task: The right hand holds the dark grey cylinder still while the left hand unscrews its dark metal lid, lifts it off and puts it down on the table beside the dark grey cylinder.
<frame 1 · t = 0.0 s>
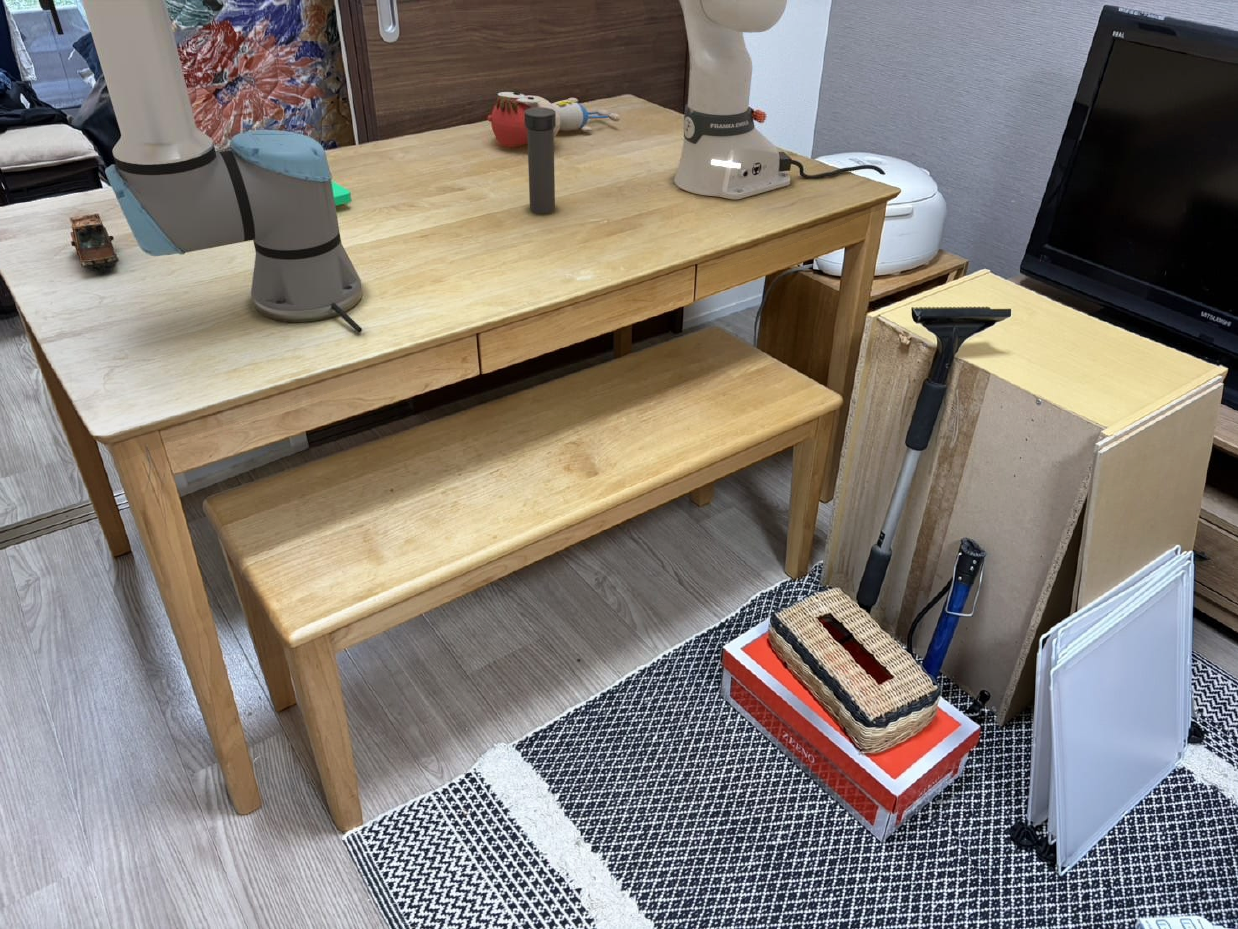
left hand: (108, 29, 146), 28 cm above the table, tool pointing down, fingers open, 13 cm apart
toy: (554, 136, 197), on the table
camera mount: (318, 203, 164), on the table
lid: (540, 113, 154), point 17 cm above the table, screwed on, not yet turned
dark grey cylinder: (542, 209, 164), on the table
toy car: (99, 261, 143), on the table
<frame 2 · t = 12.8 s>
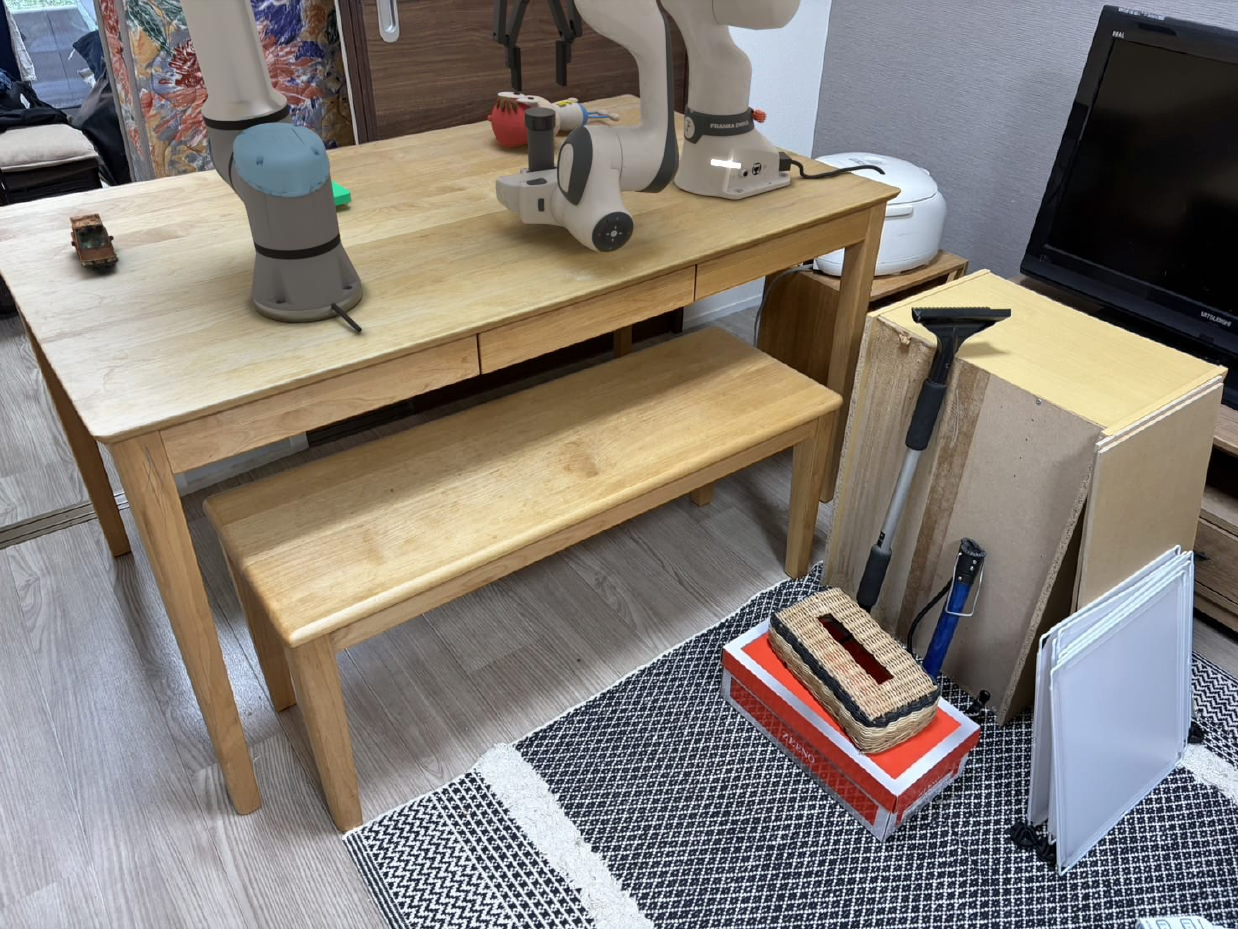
left hand: (539, 86, 152), 21 cm above the table, tool pointing down, fingers open, 7 cm apart
right hand: (539, 170, 161), 7 cm above the table, tool horizontal, fingers closed on dark grey cylinder, 4 cm apart
dark grey cylinder: (542, 209, 164), on the table, touching right hand
everything else where it was.
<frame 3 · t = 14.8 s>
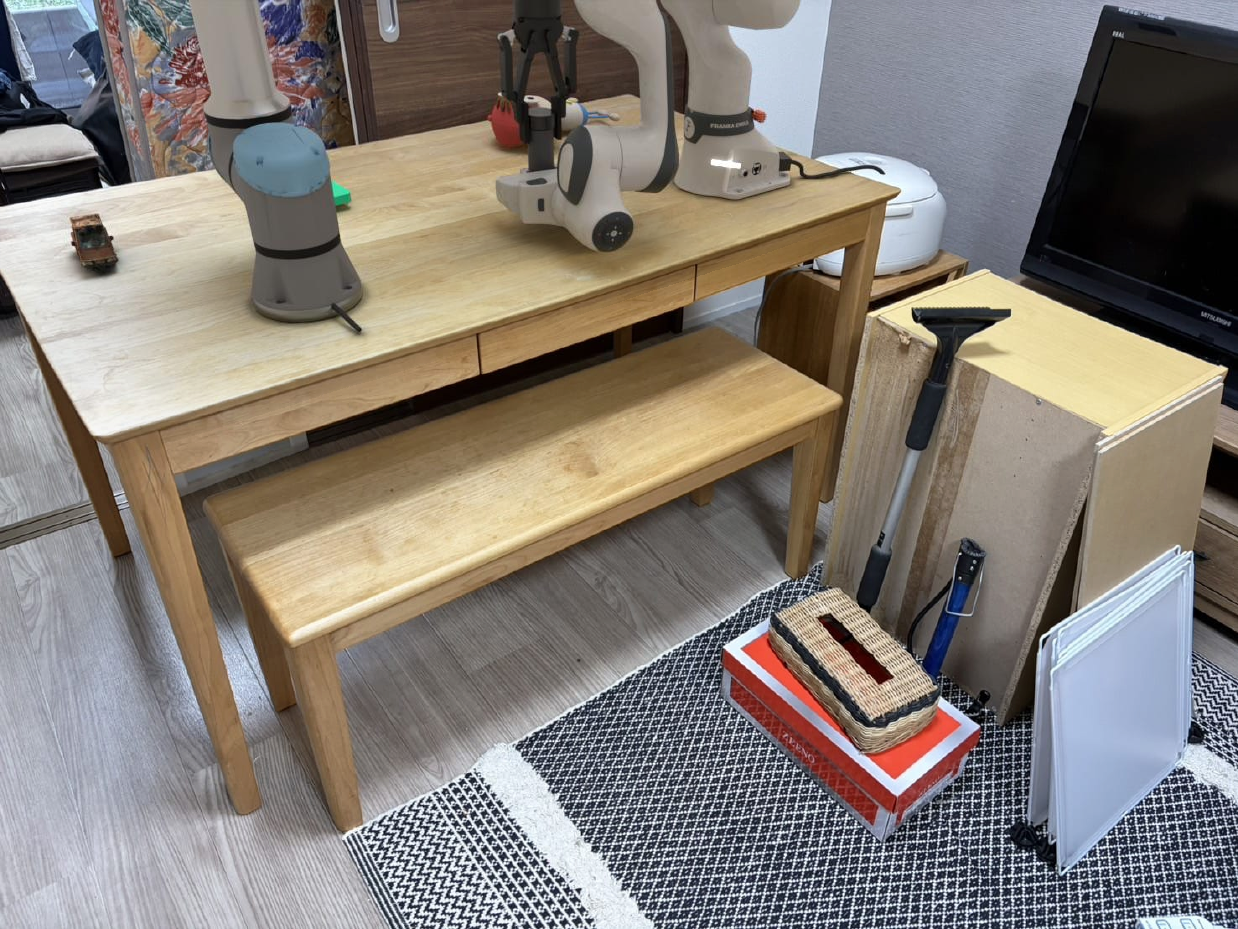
left hand: (540, 139, 157), 12 cm above the table, tool pointing down, fingers closed on lid, 5 cm apart
right hand: (539, 170, 161), 7 cm above the table, tool horizontal, fingers closed on dark grey cylinder, 4 cm apart
lid: (540, 113, 154), point 17 cm above the table, screwed on, not yet turned, touching left hand
dark grey cylinder: (542, 209, 164), on the table, touching right hand
everything else where it was.
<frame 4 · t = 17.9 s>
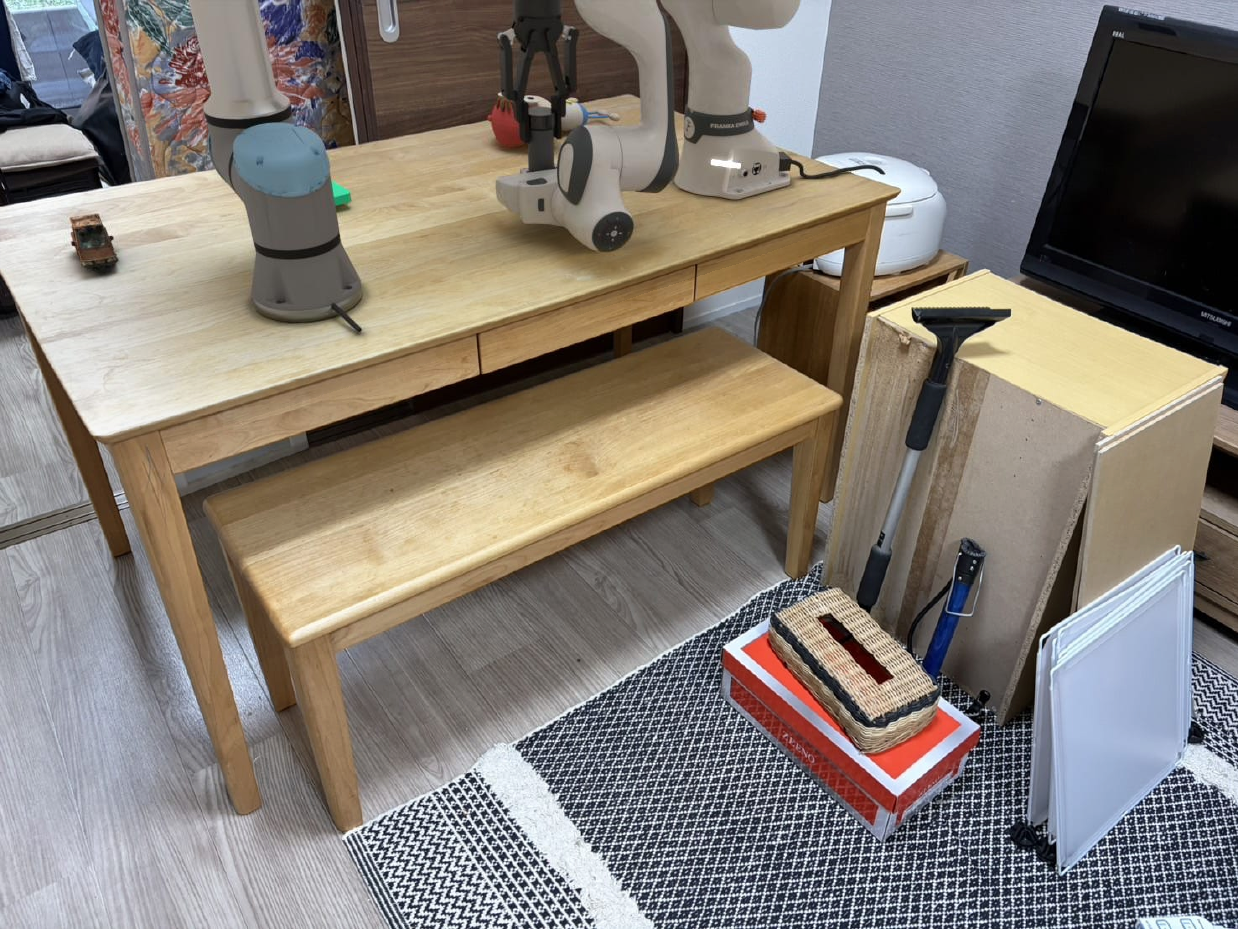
left hand: (540, 138, 157), 12 cm above the table, tool pointing down, fingers closed on lid, 5 cm apart
right hand: (539, 170, 161), 7 cm above the table, tool horizontal, fingers closed on dark grey cylinder, 4 cm apart
lid: (540, 113, 154), point 17 cm above the table, turned 94° so far, risen 0.1 cm, still on its thread, touching left hand
dark grey cylinder: (542, 209, 164), on the table, touching right hand
everything else where it was.
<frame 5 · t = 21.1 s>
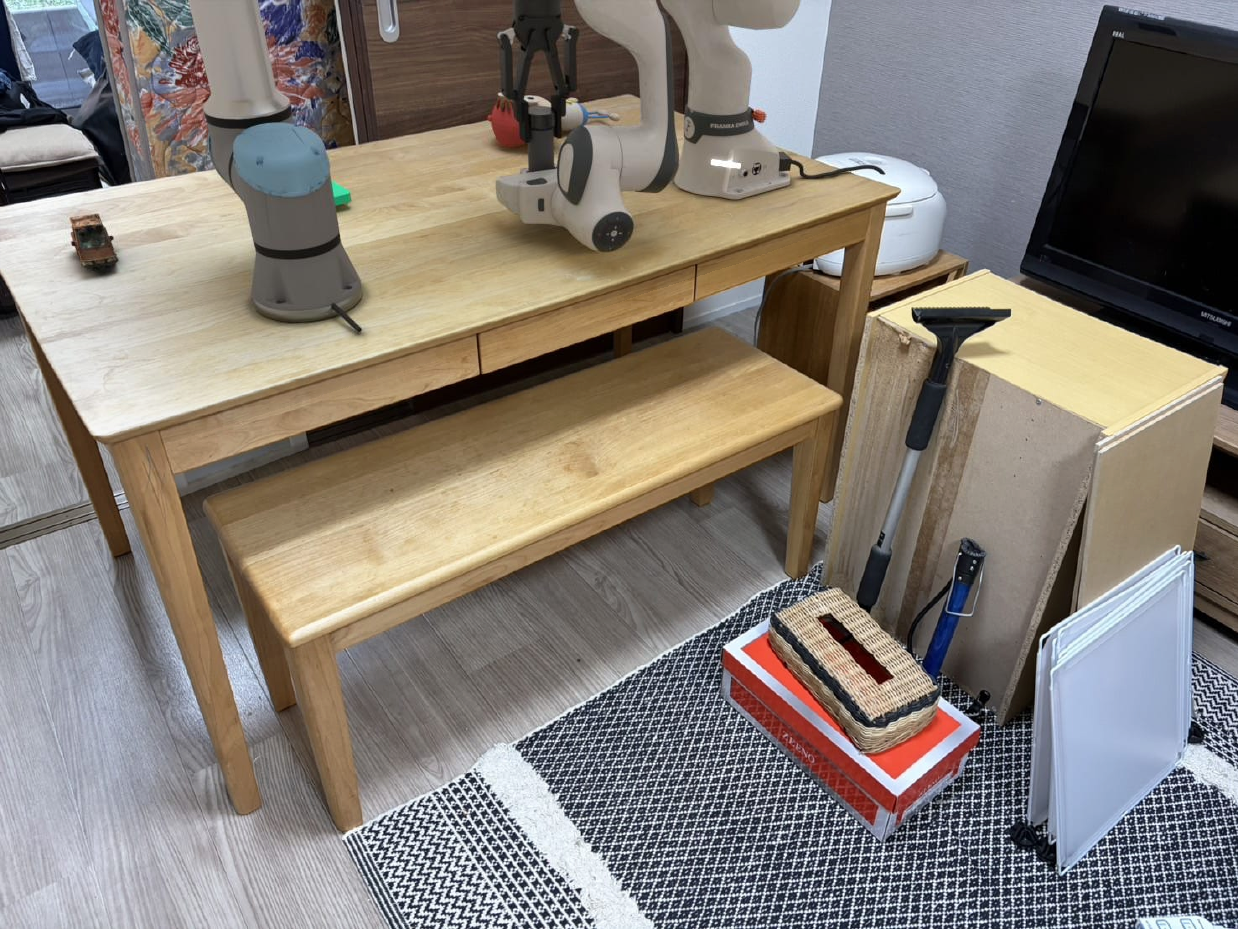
left hand: (540, 138, 157), 13 cm above the table, tool pointing down, fingers closed on lid, 5 cm apart
right hand: (539, 170, 161), 7 cm above the table, tool horizontal, fingers closed on dark grey cylinder, 4 cm apart
lid: (540, 112, 154), point 17 cm above the table, turned 189° so far, risen 0.2 cm, still on its thread, touching left hand
dark grey cylinder: (542, 209, 164), on the table, touching right hand
everything else where it was.
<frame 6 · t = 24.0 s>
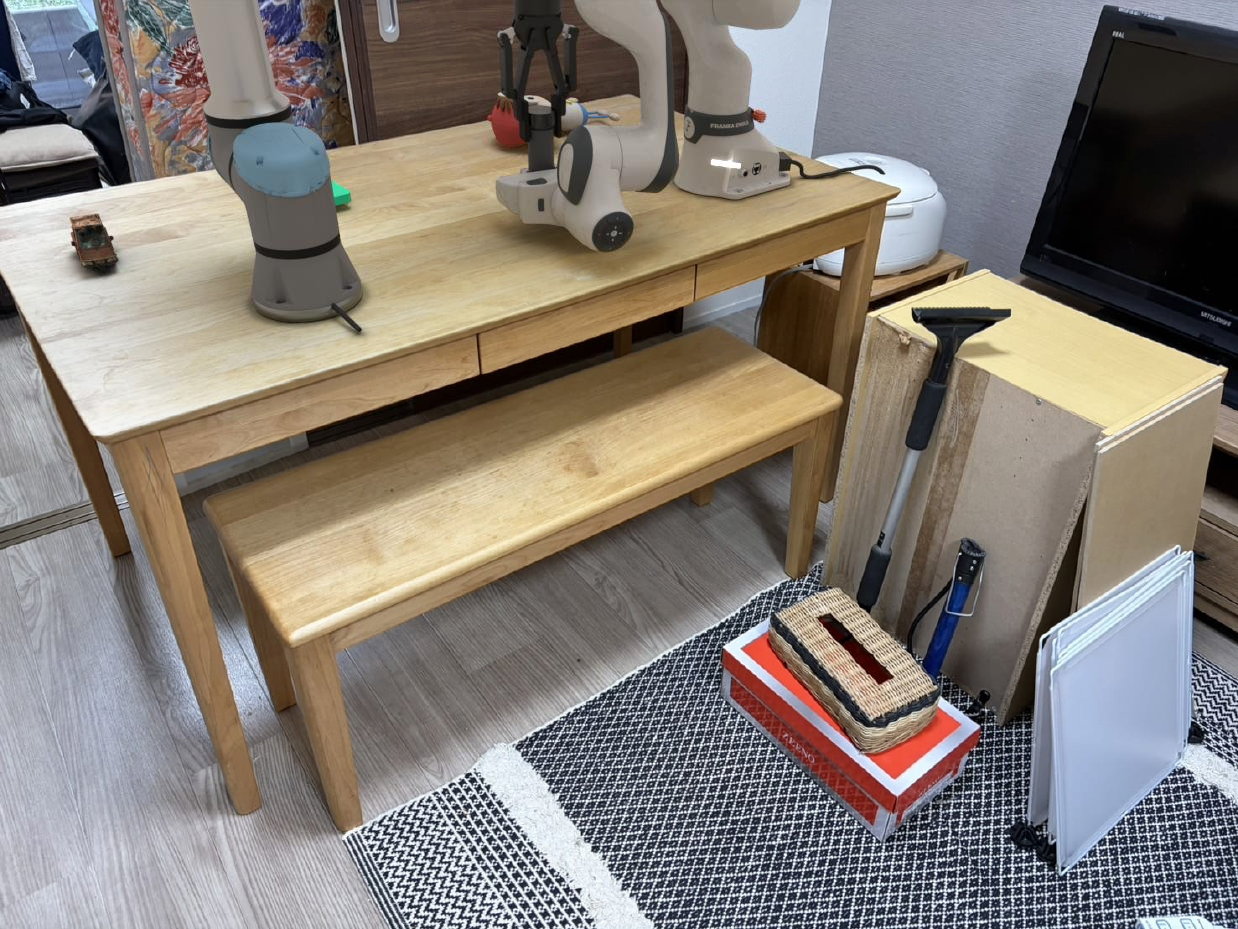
left hand: (540, 137, 157), 13 cm above the table, tool pointing down, fingers closed on lid, 5 cm apart
right hand: (539, 170, 161), 7 cm above the table, tool horizontal, fingers closed on dark grey cylinder, 4 cm apart
lid: (540, 111, 154), point 17 cm above the table, turned 283° so far, risen 0.3 cm, still on its thread, touching left hand
dark grey cylinder: (542, 209, 164), on the table, touching right hand
everything else where it was.
when the left hand's fingers open (0 cm above the table, at t = 31.0 s): lid drops 3 cm, point 2 cm above the table.
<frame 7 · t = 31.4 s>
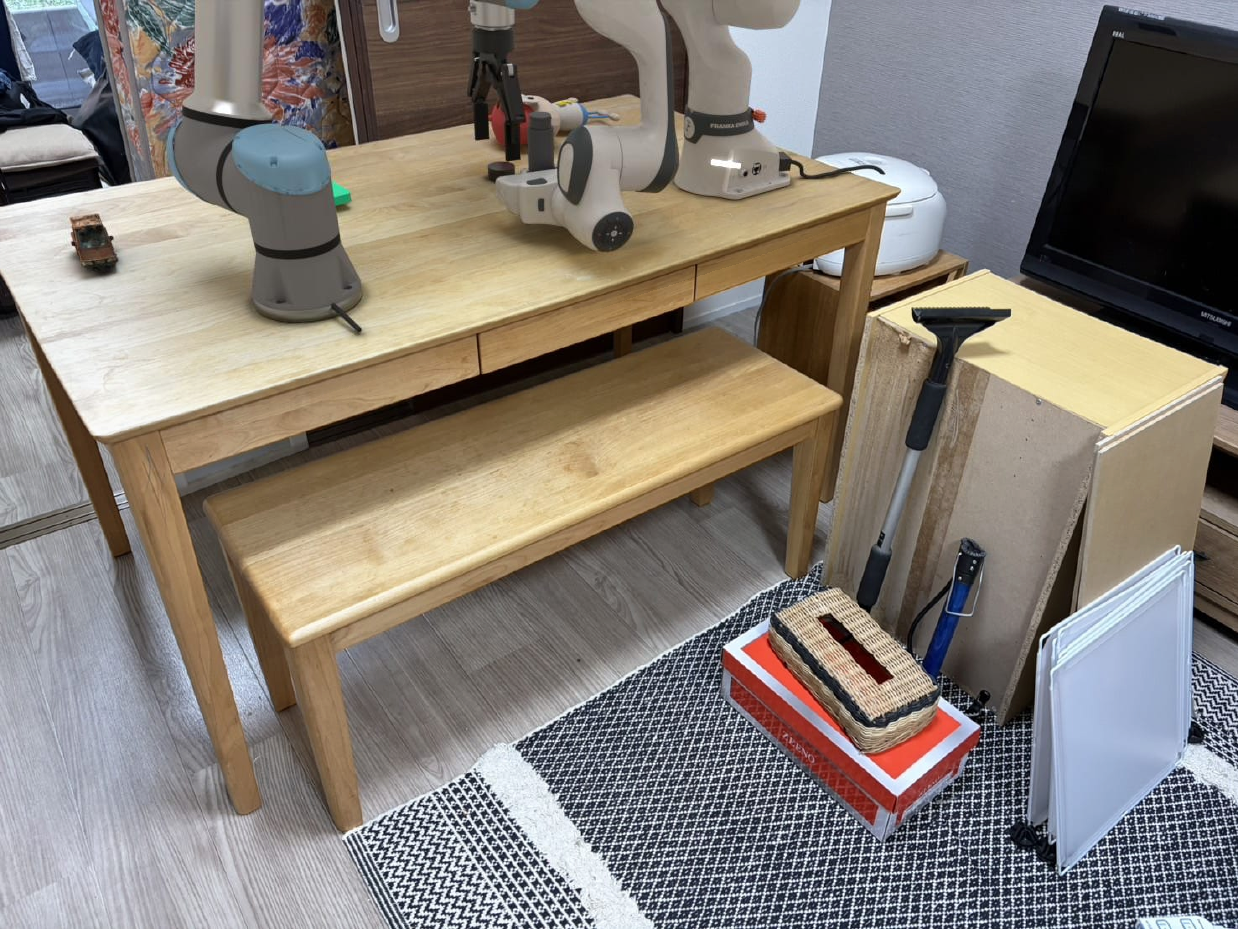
left hand: (497, 149, 173), 5 cm above the table, tool pointing down, fingers open, 13 cm apart
right hand: (539, 170, 161), 7 cm above the table, tool horizontal, fingers closed on dark grey cylinder, 4 cm apart
lid: (501, 167, 175), point 2 cm above the table, off its thread
dark grey cylinder: (542, 209, 164), on the table, touching right hand
everything else where it was.
when the right hand's fingers open (7 cm above the table, at t = 31.7 s): dark grey cylinder stays where it is, on the table.
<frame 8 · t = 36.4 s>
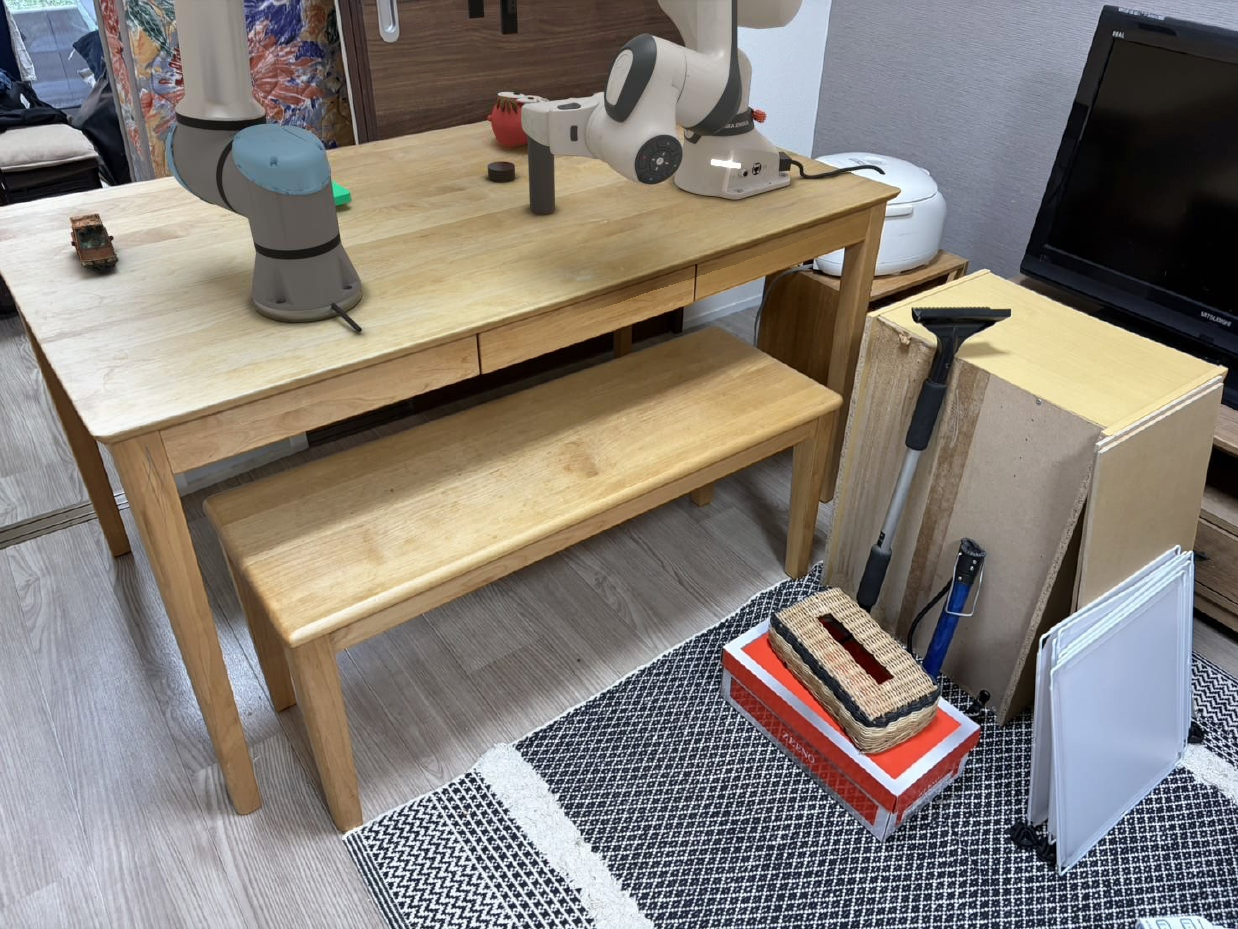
left hand: (492, 25, 160), 27 cm above the table, tool pointing down, fingers open, 13 cm apart
right hand: (569, 100, 142), 22 cm above the table, tool horizontal, fingers open, 8 cm apart
dark grey cylinder: (542, 209, 164), on the table
everything else where it was.
at the end: lid came off its thread; lid point 1.9 cm above the table; the left hand is holding nothing; the right hand is holding nothing; dark grey cylinder tilted 0°; dark grey cylinder moved 0.0 cm from its start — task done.
